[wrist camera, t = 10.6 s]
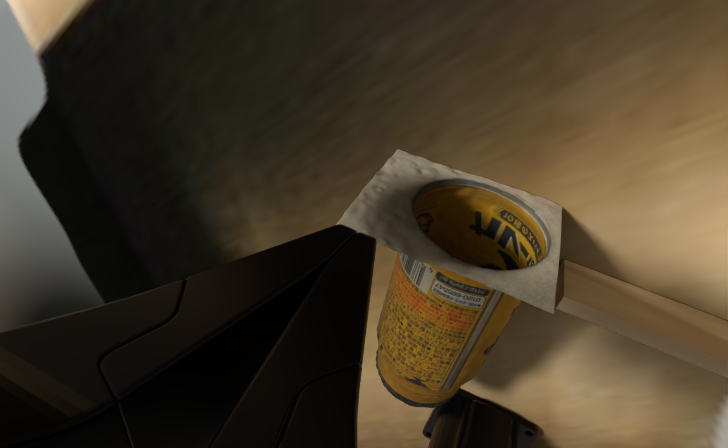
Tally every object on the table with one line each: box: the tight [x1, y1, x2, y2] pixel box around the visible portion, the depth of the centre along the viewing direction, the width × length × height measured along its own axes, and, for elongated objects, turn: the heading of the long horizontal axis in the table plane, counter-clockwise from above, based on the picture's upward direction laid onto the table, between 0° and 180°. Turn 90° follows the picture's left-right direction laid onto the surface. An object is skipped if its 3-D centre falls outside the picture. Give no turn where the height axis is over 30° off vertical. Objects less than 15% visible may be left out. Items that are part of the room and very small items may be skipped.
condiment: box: [336, 149, 562, 408], centre depth 21 cm, size 7×8×12 cm
